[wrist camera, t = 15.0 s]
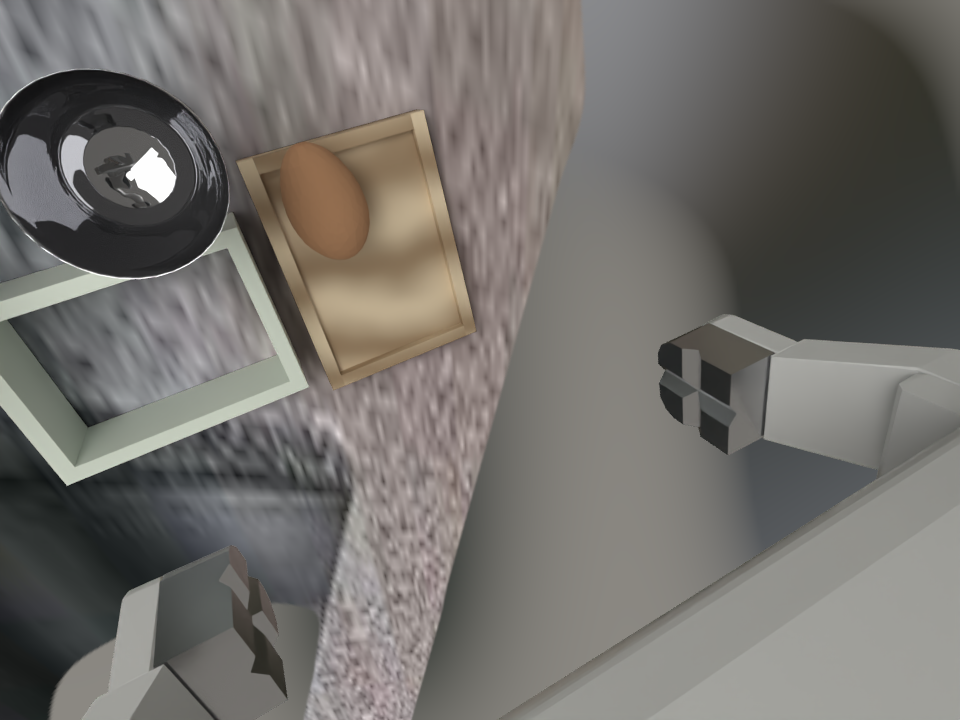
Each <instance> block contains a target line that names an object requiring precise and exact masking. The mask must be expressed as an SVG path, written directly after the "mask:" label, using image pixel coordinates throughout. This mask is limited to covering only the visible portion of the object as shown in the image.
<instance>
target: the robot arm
mask: <svg viewBox="0 0 960 720" xmlns="http://www.w3.org/2000/svg"><path fill="white" fill-rule="evenodd" d="M658 364H659V365H660V366H661V367H662V368H663V369H665V372H664V374H663V376H662V378H661V380H660V382H659V386H660V397H661V399H662V401H663V403H664V405H665V408H666V409H667V411H668V412H669V413H670V414H671V415H672V416H673V418H675V419H676V420H677V421H679V422H680V423H682V424H683V425H688V426H694V427H698V428H699V432H700V437H702V438H703V439H705V440H706V441H708V442H709V443H711V444H712V445H713V446H715V447H716V448H718V449H719V450H721V451H722V452H724V453H725V454H727V455H729V454H731V453H733V452H735V451H737V450H739V449H741V448H743V447H745V446H747V445H749V444H751V443H753V442H754V441H756V440H758V439H760V438H762V437H764V439H766V440H770V441H773V442H776V443H780V444H784V445H788V446H791V447H795V448H799V449H802V450H806V451H810V452H814V453H818V454H821V455H825V456H828V457H832V458H836V459H839V460H843V461H847V462H850V463H854V464H858V465H862V466H865V467H869V468H873V469H876V470H878V474H877V478H876V480H875V481H873V482H872V483H870V484H869V485H867V486H866V487H864V488H862V489H861V490H859V491H858V492H856V493H855V494H853V495H851V496H850V497H848V498H847V499H845V500H843V501H842V502H840V503H839V504H837V505H836V506H834V507H832V508H831V509H829V510H828V511H826V512H824V513H823V514H821V515H820V516H818V517H817V518H815V519H813V520H812V521H810V522H809V523H807V524H805V525H804V526H802V527H801V528H799V529H798V530H796V531H794V532H793V533H791V534H790V535H788V536H787V537H785V538H783V539H782V540H780V541H779V542H777V543H775V544H774V545H772V546H771V547H769V548H768V549H766V550H765V551H763V552H761V553H760V554H758V555H756V556H755V557H753V558H752V559H750V560H749V561H747V562H745V563H744V564H742V565H741V566H739V567H738V568H736V569H735V570H733V571H731V572H730V573H728V574H726V575H725V576H723V577H722V578H720V579H719V580H717V581H716V582H714V583H712V584H711V585H709V586H708V587H706V588H704V589H703V590H701V591H700V592H698V593H696V594H695V595H693V596H692V597H690V598H689V599H687V600H686V601H684V602H682V603H681V604H679V605H678V606H676V607H674V608H673V609H671V610H670V611H668V612H666V613H665V614H663V615H662V616H660V617H659V618H657V619H655V620H654V621H652V622H651V623H649V624H648V625H646V626H644V627H643V628H641V629H640V630H638V631H636V632H635V633H633V634H632V635H630V636H628V637H627V638H625V639H624V640H622V641H621V642H619V643H617V644H616V645H614V646H613V647H611V648H609V649H608V650H606V651H605V652H603V653H602V654H600V655H598V656H597V657H595V658H594V659H592V660H591V661H589V662H587V663H586V664H584V665H583V666H581V667H580V668H578V669H576V670H575V671H573V672H571V673H570V674H569V675H567V676H565V677H564V678H562V679H561V680H559V681H557V682H556V683H554V684H553V685H551V686H549V687H548V688H546V689H545V690H543V691H541V692H540V693H538V694H537V695H535V696H533V697H532V698H530V699H529V700H527V701H526V702H524V703H522V704H521V705H519V706H518V707H516V708H515V709H513V710H511V711H510V712H508V713H507V714H505V715H503V716H502V717H501V718H499V719H497V720H960V350H957V349H946V348H944V349H943V348H930V347H913V346H899V345H884V344H869V343H853V342H837V341H823V340H807V339H804V340H802V341H800V342H796V341H794V340H792V339H789V338H787V337H784V336H782V335H780V334H777V333H775V332H772V331H770V330H767V329H765V328H763V327H760V326H758V325H755V324H753V323H751V322H748V321H746V320H743V319H741V318H739V317H736V316H734V315H726V314H723V315H721V316H719V317H717V318H715V319H713V320H711V321H709V322H707V323H705V324H703V325H702V326H700V327H698V328H696V329H694V330H692V331H690V332H687V333H685V334H683V335H681V336H679V337H677V338H675V339H673V340H670V341H669V342H666V343H664V344H662V345H661V347H660V349H659V352H658ZM278 636H279V634H278V628H277V621H276V618H275V614H274V611H273V608H272V604H271V601H270V599H269V597H268V595H267V593H266V591H265V589H264V587H263V586H262V584H261V583H260V581H259V580H258V579H256V578H252V577H249V576H248V573H247V564H246V560H245V558H244V557H243V556H242V554H241V553H240V551H239V550H238V549H237V547H235V546H232V545H230V546H228V547H226V548H224V549H221V550H219V551H217V552H215V553H212V554H210V555H208V556H206V557H203V558H201V559H199V560H196V561H194V562H192V563H190V564H187V565H185V566H183V567H181V568H178V569H176V570H174V571H172V572H169V573H167V574H165V575H164V576H162V577H159V578H157V579H155V580H152V581H150V582H148V583H146V584H144V585H141V586H139V587H137V588H135V589H132V590H130V591H128V593H127V594H126V595H125V597H124V598H123V600H122V605H121V611H120V617H119V624H118V630H117V636H116V643H115V649H114V656H113V662H112V668H111V675H110V681H109V687H108V693H106V694H104V695H102V696H100V697H98V698H96V699H95V701H94V702H93V704H92V705H91V706H90V708H89V709H88V711H87V712H86V713H85V715H84V716H83V718H82V719H81V720H255V719H257V718H258V717H260V716H262V715H263V714H265V713H267V712H269V711H270V710H272V709H274V708H275V707H277V706H279V705H280V704H282V703H283V702H285V701H287V700H288V697H287V690H286V682H285V675H284V668H283V661H282V659H281V658H280V656H279V655H278V653H277V652H276V650H275V649H274V645H275V643H276V641H277V638H278Z"/></svg>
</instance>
